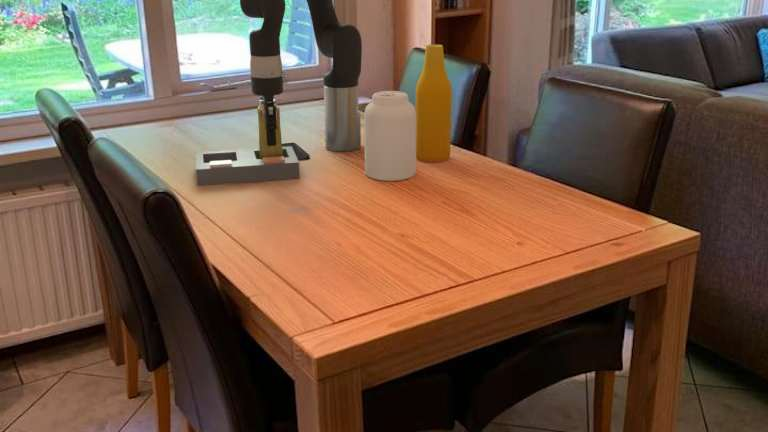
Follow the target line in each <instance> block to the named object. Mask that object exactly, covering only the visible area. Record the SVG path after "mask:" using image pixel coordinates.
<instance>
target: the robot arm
mask: <svg viewBox="0 0 768 432" xmlns="http://www.w3.org/2000/svg"><path fill="white" fill-rule="evenodd" d="M306 3H307V6H308V7H307V8H308V10H309V14H310V19H311V23H312V28H313V29H312V30H313V34H314V39H315V42H316V46H317V48H318V50H319V52H320V53H321V54H322V55H323V56H325V57H327V58H330V59H332V67H331V70H330V71H329V72H326V73H325V74H324V75H323V100H324V101H323V103H324V104H323V106H324V132H325V133H324V134H325V136H324V137H325V139H324V140H325V142H324V143H325V148H326V149H327V150H328V151H333V152H351V151H354V150H358V149H359V150H361V149H362V146H361V145H362V135H361V131H362V126H361V125H362V124H361V122H362V121H361V113H359V112H360V111H359V79H360V75H361V72H362V51H363V46H362V44H363V42H362V37H361V33H360V31H359V29H358V28H357V27H356V26H354V25H352V24H348V23H342V22H340V21H339V19H338V16H337V13H336V10H335V7H334V1H333V0H306ZM239 5H240V9H241V11H242V13H243V15H245V16H246V17H248V18H253V19H263V21H262V24H261V27H259V28H255V29H253V30H251V31H250V32H249V52H250V62H249V63H250V64H249V69H250V80H251V81H250V83H251V93H252V94H253V95H255V96H260V100H259V106H260V108H261V109H262V116H263V121H264V122H265V127H266V128H265V130H266V137H267V145H268V146H275V145H276V130H277V123H276V121H277V106H278V102H277V100H276V99H275V98H274V97H275V96H279V95H281V94H283V92H284V78H283V64H282V56H281V43H280V42H281V41H280V39H281V38H280V37H281V32H282V27H283V23H284V17H285V12H286V0H239ZM264 109H265V111H264ZM265 114H266V117H265ZM269 121H273V125H268V122H269Z"/></svg>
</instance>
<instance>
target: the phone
mask: <svg viewBox="0 0 768 432" xmlns="http://www.w3.org/2000/svg"><path fill="white" fill-rule="evenodd" d="M288 146H292V148H293V150H294V153H295V155H296V157H297V159H298V161H305V160H309V159H311V157H310V154H309V153H307V151H306V150H304V149H303V148H302V147H301V146H300V145H299V144H298V143H296V142H284V143H282V147H288Z"/></svg>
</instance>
